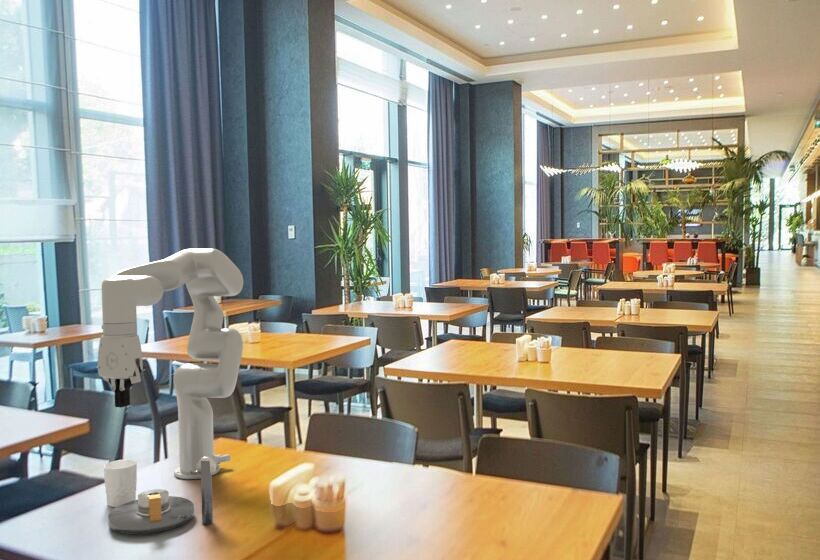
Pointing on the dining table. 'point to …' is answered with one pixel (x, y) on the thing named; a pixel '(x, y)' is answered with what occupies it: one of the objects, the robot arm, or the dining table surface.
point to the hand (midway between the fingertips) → (122, 405)
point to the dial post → (206, 487)
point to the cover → (144, 502)
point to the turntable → (150, 516)
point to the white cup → (120, 481)
